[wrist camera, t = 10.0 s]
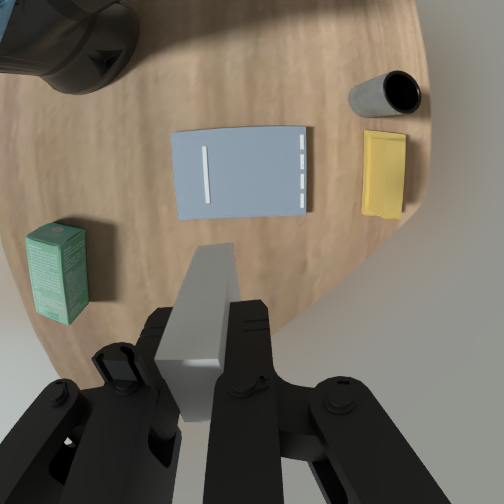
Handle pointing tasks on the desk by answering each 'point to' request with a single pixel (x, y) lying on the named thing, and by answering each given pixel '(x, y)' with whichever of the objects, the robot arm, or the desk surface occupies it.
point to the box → (58, 271)
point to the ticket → (240, 172)
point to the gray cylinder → (386, 95)
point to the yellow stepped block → (383, 174)
